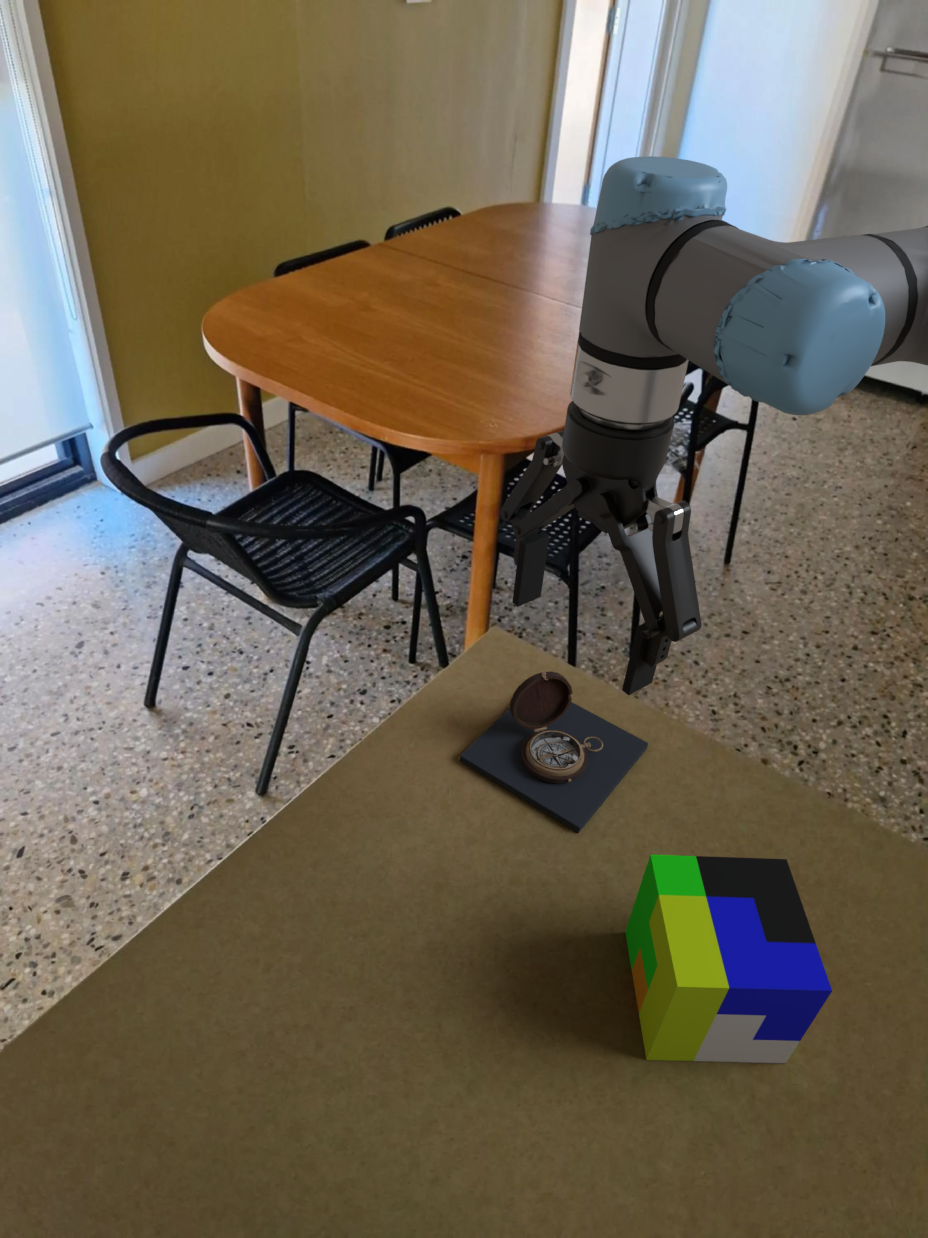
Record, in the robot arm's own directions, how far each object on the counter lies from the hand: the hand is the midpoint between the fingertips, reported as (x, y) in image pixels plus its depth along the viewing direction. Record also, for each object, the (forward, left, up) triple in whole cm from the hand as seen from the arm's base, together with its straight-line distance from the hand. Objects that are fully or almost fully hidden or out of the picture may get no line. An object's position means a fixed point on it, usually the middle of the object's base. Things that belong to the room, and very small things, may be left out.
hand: (578, 641), depth 75 cm
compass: (0, 0, -14) cm, 14 cm away
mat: (0, 0, -14) cm, 14 cm away
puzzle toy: (-24, +7, -15) cm, 29 cm away
